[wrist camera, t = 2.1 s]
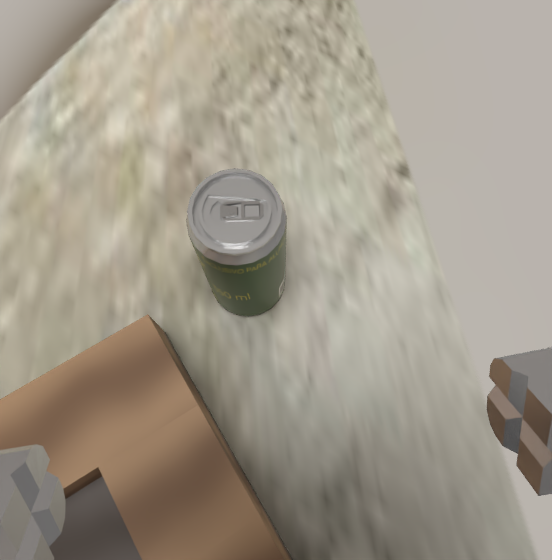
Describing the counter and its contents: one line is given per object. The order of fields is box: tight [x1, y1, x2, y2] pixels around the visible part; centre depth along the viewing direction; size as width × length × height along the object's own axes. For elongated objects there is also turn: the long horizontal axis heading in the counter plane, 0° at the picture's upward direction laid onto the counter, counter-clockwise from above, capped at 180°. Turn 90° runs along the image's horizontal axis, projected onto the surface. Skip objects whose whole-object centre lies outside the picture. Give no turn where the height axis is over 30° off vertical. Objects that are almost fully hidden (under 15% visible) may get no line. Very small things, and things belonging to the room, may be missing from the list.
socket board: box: [0, 315, 293, 560], centre depth 30 cm, size 20×20×5 cm
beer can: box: [186, 168, 287, 316], centre depth 32 cm, size 5×5×12 cm
